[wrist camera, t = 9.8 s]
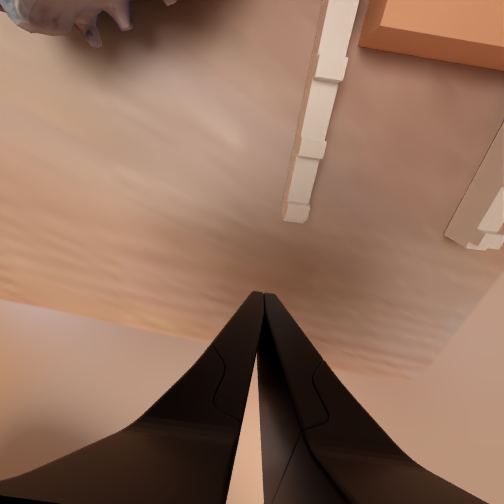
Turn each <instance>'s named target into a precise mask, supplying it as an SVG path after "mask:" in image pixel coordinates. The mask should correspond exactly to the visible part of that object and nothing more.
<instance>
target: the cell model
mask: <svg viewBox="0 0 504 504" xmlns="http://www.w3.org/2000/svg"><path fill="white" fill-rule="evenodd" d="M130 1H132V0H0V11H2V12H5V13H7V15H8V16H9V18H10V19H11V20H12V21H13V22H14V23H15V24H16V25H17V26H19V27H21V28H22V29H24V30H26V31H28V32H30V33H40V34H45V35H51V36H58V35H67V34H68V33H69V32H70V31H72V28H73V25H74V24H75V25H76V26H77V27H78V28H79V30H80V31H81V32H82V34H83V35H84V37H85V38H86V40H87V42H88V43H89V45H90V46H91V47H95V48H99V47H101V46H102V39H101V35H100V32H99V29H98V15H99V14H100V13H101V11H102V10H103V11H106V12H107V13H108V14H109V15H110V16H111V17H112V18H113V19H114V21H115V22H116V24H117V25H118V26H119V28H120V29H121V31H122V32H123V31H127V30H130V29H133V27H134V21H133V17H132V13H131V10H130ZM163 1H164V3H165V4H166V5H167V6H169V5H172V4H174V3H176V1H177V0H163Z"/></svg>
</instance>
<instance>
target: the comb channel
mask: <svg viewBox="0 0 504 504" xmlns="http://www.w3.org/2000/svg"><path fill="white" fill-rule="evenodd" d="M358 4H359V0H323V3H322V8H321V13H320V18H319V23H318V28H317V33H316V38H315V43H314V48H313V53H312V58H311V63H310V68H309V73H308V78H307V83H306V88H305V93H304V98H303V103H302V108H301V113H300V118H299V123H298V128H297V133H296V138H295V143H294V148H293V153H292V158H291V163H290V168H289V173H288V178H287V183H286V188H285V193H284V198H283V203H282V208H281V213H282V218H283V221H288V222H295V223H302V224H304V221H307V219H308V215H309V211H310V205H309V200H310V196H311V192H312V188H313V184H314V180H315V176H316V172H317V168H318V164H319V160H320V159H323V156H324V152H325V148H326V145H327V141H324V140H325V136H326V132H327V128H328V124H329V120H330V116H331V112H332V108H333V104H334V100H335V96H336V92H337V88H338V84H339V83H340V82H341V81H343V78H344V74H345V70H346V66H347V62H348V57H345V56H346V52H347V48H348V44H349V40H350V36H351V32H352V28H353V24H354V20H355V16H356V12H357V8H358ZM503 223H504V122H503V124H502V126H501V128H500V130H499V131H498V133H497V135H496V137H495V139H494V141H493V143H492V145H491V146H490V148H489V150H488V152H487V154H486V156H485V158H484V160H483V161H482V163H481V165H480V167H479V169H478V171H477V173H476V174H475V176H474V178H473V180H472V182H471V184H470V186H469V188H468V189H467V191H466V193H465V195H464V197H463V199H462V201H461V203H460V204H459V206H458V208H457V210H456V212H455V214H454V216H453V218H452V219H451V221H450V223H449V225H448V227H447V229H446V231H445V233H444V234H443V235H444V236H446V237H448V238H450V239H451V240H453V241H455V242H456V243H458V244H460V245H461V246H463V247H465V248H469V249H476V250H483V251H486V249H487V248H491V249H498V250H499V249H500V247H501V246H502V244H503V243H504V235H503V234H501V233H498V231H499V229H500V227H501V226H502V224H503Z"/></svg>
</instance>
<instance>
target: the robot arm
mask: <svg viewBox="0 0 504 504" xmlns="http://www.w3.org/2000/svg"><path fill="white" fill-rule="evenodd" d="M256 353H257V371H258V389H259V390H258V391H259V411H260V431H261V451H262V471H263V491H264V504H488V503H487V502H485V501H483V500H481V499H479V498H477V497H475V496H474V495H472V494H470V493H468V492H466V491H464V490H463V489H461V488H459V487H457V486H455V485H454V484H452V483H450V482H448V481H446V480H444V479H442V478H441V477H439V476H437V475H435V474H433V473H432V472H430V471H428V470H426V469H425V468H423V467H422V466H420V465H419V464H417V463H416V462H415V461H413V460H412V459H411V458H410V457H409V456H408V455H407V454H406V453H404V452H403V451H402V450H401V449H400V448H399V447H398V446H397V445H396V443H394V442H393V440H392V439H391V438H390V437H389V436H388V435H387V434H386V432H385V431H384V430H383V429H382V428H381V427H380V426H379V425H378V424H377V422H376V421H375V420H374V419H373V418H372V417H371V416H370V415H369V413H368V412H367V411H366V410H365V409H364V408H363V407H362V406H361V405H360V403H358V401H357V400H356V399H355V398H354V397H353V395H352V394H351V393H350V392H349V391H348V390H347V389H346V387H345V386H344V385H343V384H342V383H341V381H340V380H339V379H338V377H337V376H336V375H335V374H334V373H333V371H332V370H331V368H330V367H329V366H328V364H327V363H326V362H325V361H324V360H323V358H322V357H321V355H320V354H319V353H318V351H317V350H316V349H315V347H314V346H313V344H312V343H311V342H310V340H309V339H308V338H307V336H306V335H305V334H304V332H303V331H302V330H301V328H300V327H299V326H298V324H297V323H296V322H295V320H294V319H293V318H292V316H291V315H290V314H289V312H288V311H287V310H286V308H285V307H284V306H283V304H282V303H281V302H280V300H279V299H278V297H277V296H276V295H275V294H272V293H264V294H263V293H262V292H257V291H252V292H251V294H250V295H249V296H248V297H247V299H246V300H245V301H244V302H243V304H242V305H241V306H240V307H239V309H238V310H237V311H236V313H235V314H234V315H233V316H232V318H231V319H230V320H229V321H228V323H227V324H226V325H225V327H224V328H223V329H222V330H221V332H220V333H219V334H218V335H217V337H216V338H215V339H214V340H213V342H212V343H211V345H209V347H208V348H207V349H206V350H205V352H204V353H203V354H202V355H201V357H200V358H199V359H198V360H197V361H196V362H195V364H194V365H193V366H192V367H191V368H190V369H189V370H188V371H187V372H186V373H185V374H184V375H183V376H182V377H181V378H180V379H179V380H178V381H177V382H176V383H175V384H174V385H173V386H172V387H171V388H170V389H169V390H168V391H167V392H166V393H165V394H163V395H162V396H161V397H160V398H159V399H158V400H157V401H156V402H155V403H154V404H153V405H152V406H151V407H150V408H149V409H148V410H147V411H146V412H145V413H144V414H143V415H142V416H140V417H139V418H138V419H137V420H136V421H134V422H133V423H132V424H130V425H129V426H127V427H126V428H124V429H122V430H121V431H119V432H117V433H115V434H112V435H110V436H108V437H106V438H103V439H101V440H99V441H97V442H95V443H92V444H90V445H88V446H85V447H83V448H81V449H79V450H77V451H75V452H72V453H70V454H68V455H65V456H63V457H61V458H59V459H56V460H54V461H52V462H50V463H47V464H45V465H43V466H41V467H39V468H36V469H34V470H32V471H29V472H26V473H24V474H21V475H19V476H16V477H12V478H9V479H5V480H1V481H0V504H226V500H227V495H228V490H229V485H230V480H231V475H232V470H233V465H234V460H235V456H236V451H237V446H238V441H239V436H240V431H241V426H242V421H243V417H244V412H245V407H246V402H247V397H248V392H249V387H250V383H251V378H252V372H253V368H254V363H255V358H256Z"/></svg>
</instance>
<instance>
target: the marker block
mask: <svg viewBox="0 0 504 504" xmlns="http://www.w3.org/2000/svg"><path fill="white" fill-rule="evenodd" d="M358 46H361V47H367V48H373V49H378V50H384V51H390V52H396V53H402V54H408V55H414V56H419V57H425V58H431V59H437V60H443V61H449V62H455V63H460V64H466V65H472V66H478V67H484V68H490V69H496V70H501V71H504V0H370V1H369V5H368V9H367V12H366V16H365V20H364V24H363V27H362V31H361V35H360V39H359V42H358Z"/></svg>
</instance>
